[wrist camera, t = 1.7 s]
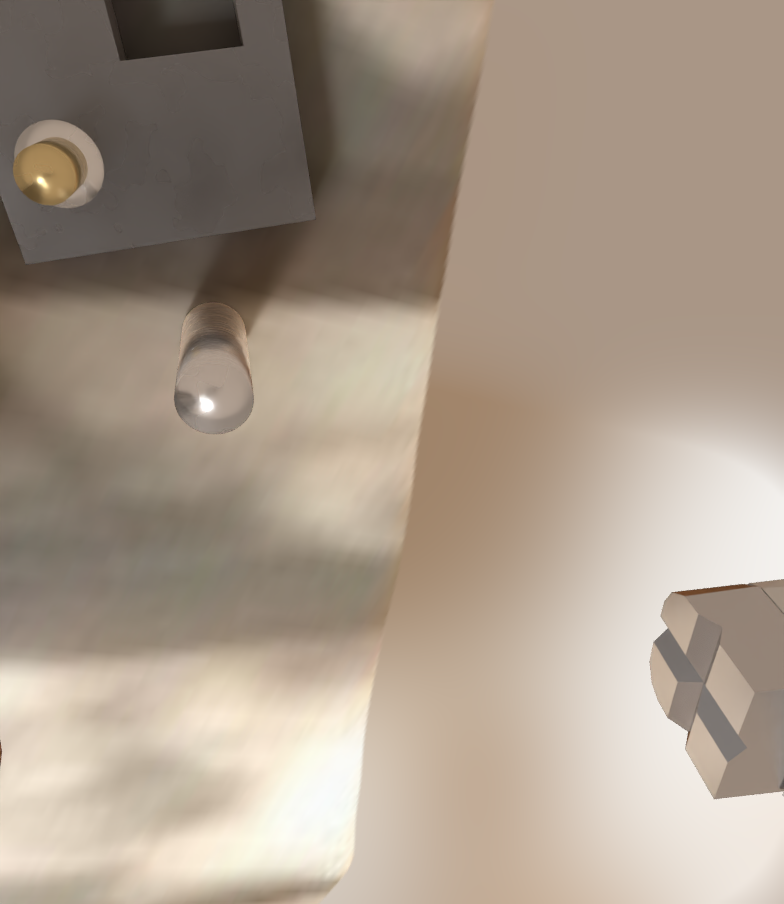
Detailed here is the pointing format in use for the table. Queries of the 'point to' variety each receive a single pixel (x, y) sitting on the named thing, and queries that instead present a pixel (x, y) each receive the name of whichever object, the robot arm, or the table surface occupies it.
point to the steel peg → (213, 370)
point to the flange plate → (143, 132)
